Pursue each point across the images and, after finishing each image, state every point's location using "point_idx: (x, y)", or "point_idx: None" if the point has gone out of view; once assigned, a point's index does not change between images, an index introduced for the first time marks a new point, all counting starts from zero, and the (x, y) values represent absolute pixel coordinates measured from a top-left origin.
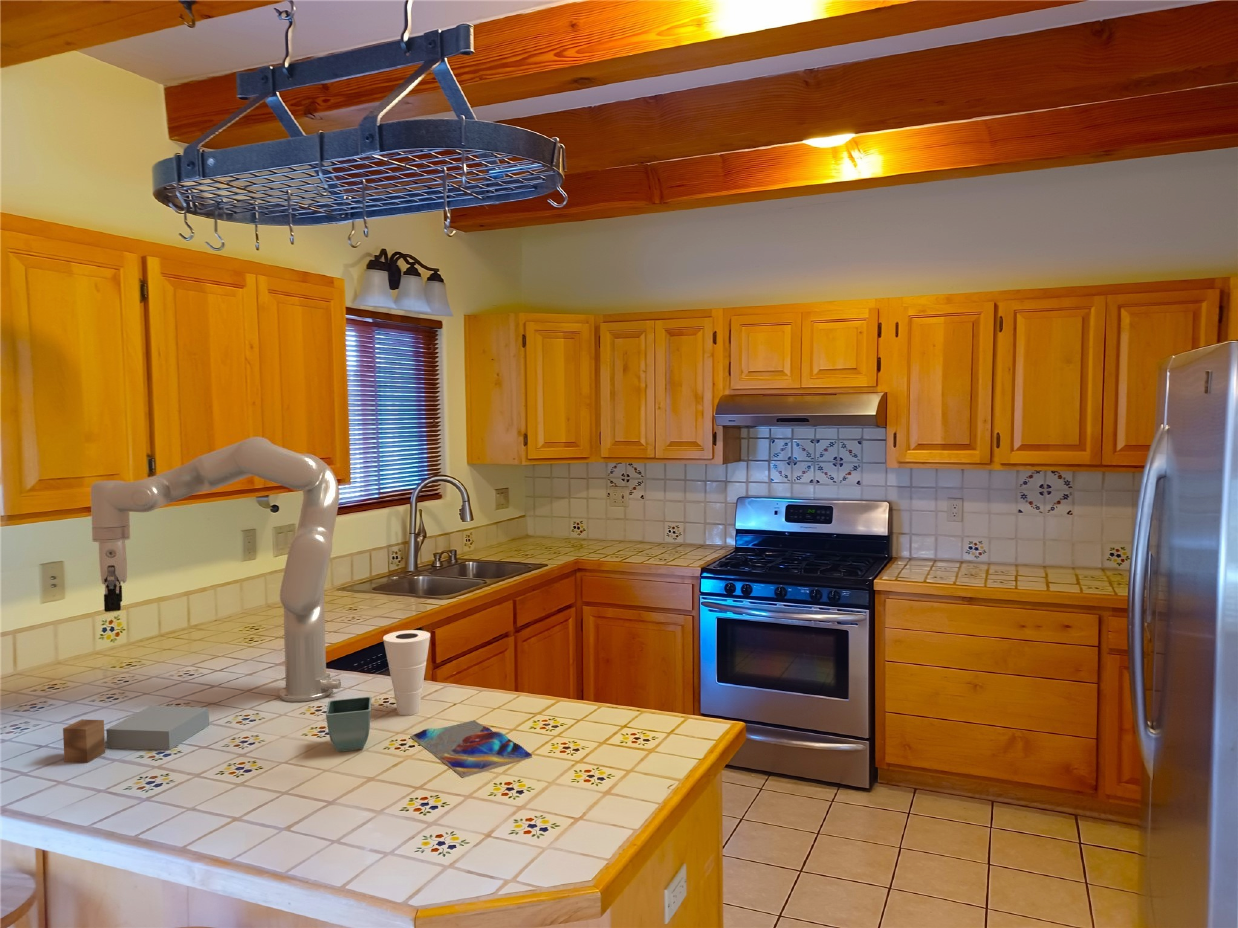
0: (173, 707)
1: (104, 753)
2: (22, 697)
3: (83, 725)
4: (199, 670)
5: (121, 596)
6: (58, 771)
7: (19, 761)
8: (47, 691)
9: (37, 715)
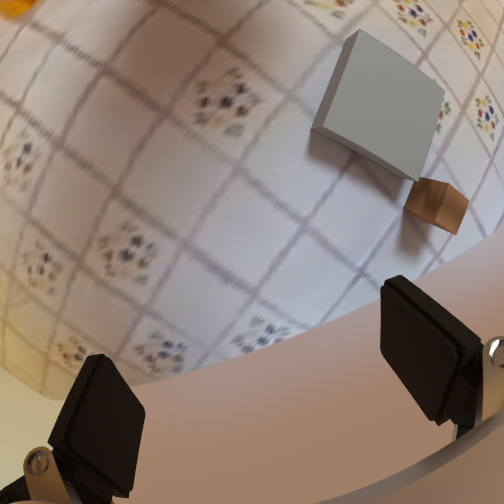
0: (344, 82)
1: None
2: None
3: (456, 208)
4: (10, 145)
5: (89, 378)
6: None
7: None
8: None
9: (207, 337)
